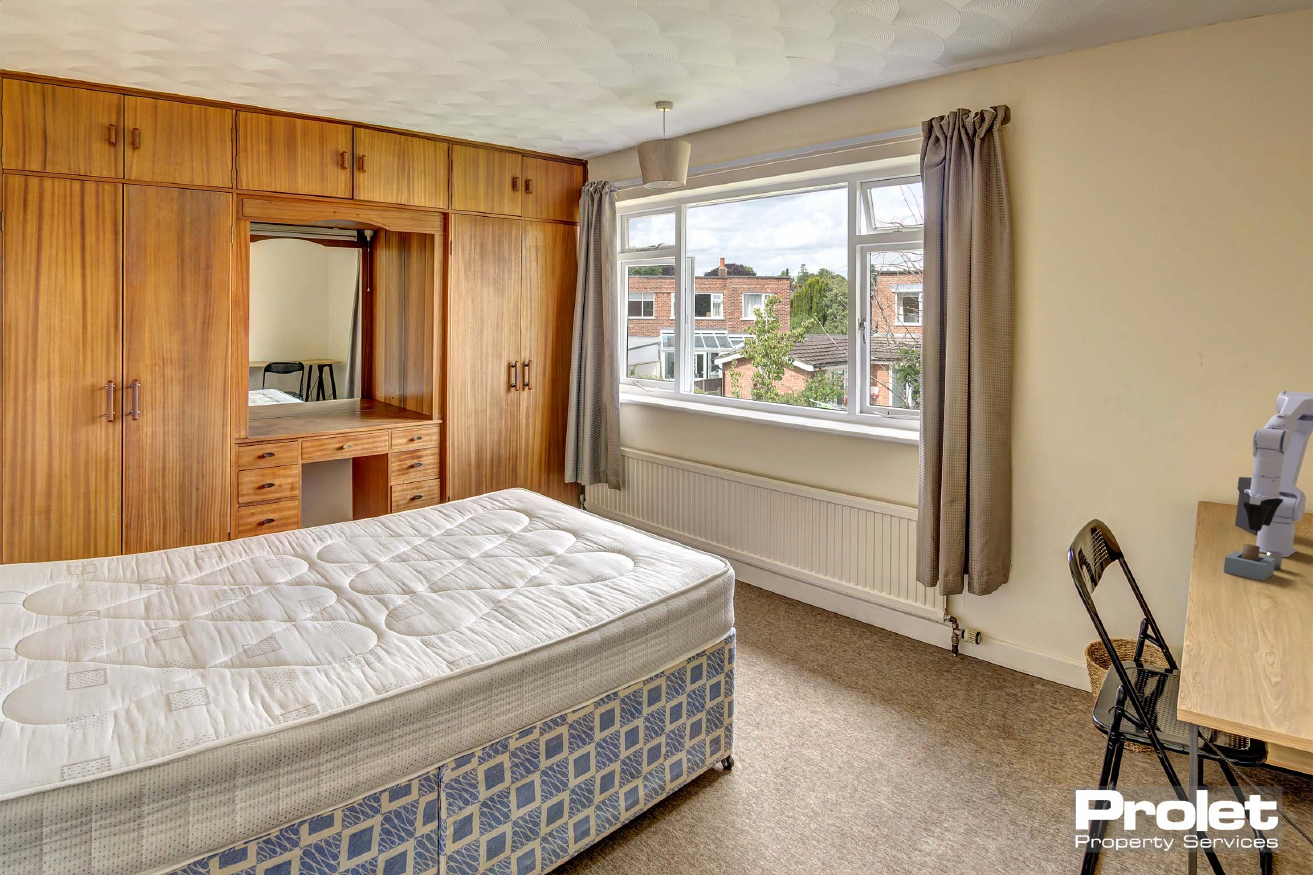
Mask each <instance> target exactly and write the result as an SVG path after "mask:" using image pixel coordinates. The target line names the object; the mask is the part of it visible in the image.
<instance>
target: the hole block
mask: <svg viewBox="0 0 1313 875" xmlns="http://www.w3.org/2000/svg"><path fill="white" fill-rule="evenodd" d="M1242 552H1243V551H1239V550H1235V551H1233V552H1231V553H1230V554H1228V555H1226V556H1225V557H1224V558H1225V559H1224V565H1223V573H1226V574H1229V575H1235V576H1238V577H1243V578H1248V579H1252V580H1257V581H1261V582H1265V581H1266V580H1267V579H1269V578H1270V577H1272V576H1273V575H1274V573H1275V570H1274V567H1275V558H1270V557H1266V555H1265V556H1264V555H1260V554H1259V558H1258V562H1256V561H1252V560H1247V559H1242Z"/></svg>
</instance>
